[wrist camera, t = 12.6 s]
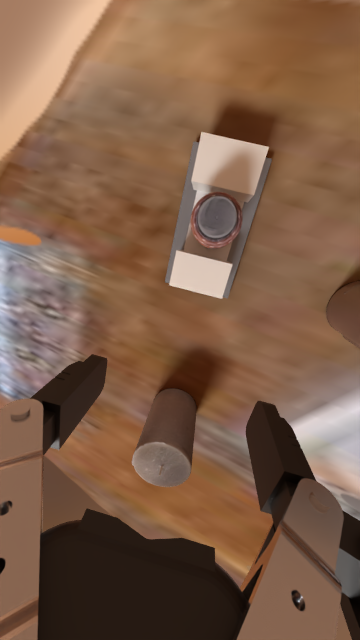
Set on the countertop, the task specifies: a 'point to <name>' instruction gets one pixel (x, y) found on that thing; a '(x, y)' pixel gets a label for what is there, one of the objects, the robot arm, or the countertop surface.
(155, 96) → the countertop surface
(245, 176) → the rail board
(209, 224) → the supplement bottle
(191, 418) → the pillar candle
